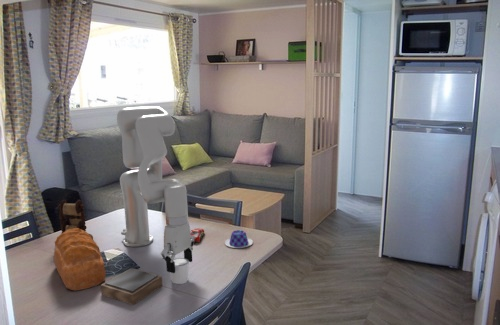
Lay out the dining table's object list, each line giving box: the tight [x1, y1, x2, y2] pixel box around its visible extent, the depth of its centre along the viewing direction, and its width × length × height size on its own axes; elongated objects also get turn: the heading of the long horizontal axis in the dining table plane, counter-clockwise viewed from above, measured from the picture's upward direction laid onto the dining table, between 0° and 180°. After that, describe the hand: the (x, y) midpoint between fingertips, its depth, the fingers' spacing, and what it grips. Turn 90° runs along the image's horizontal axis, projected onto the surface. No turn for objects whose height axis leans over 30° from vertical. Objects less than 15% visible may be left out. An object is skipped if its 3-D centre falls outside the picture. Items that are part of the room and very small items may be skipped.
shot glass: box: [170, 257, 190, 285], centre depth 150 cm, size 7×7×7 cm
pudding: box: [224, 229, 254, 249], centre depth 182 cm, size 12×12×5 cm
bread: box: [53, 228, 107, 291], centre depth 155 cm, size 14×26×16 cm, turn 33°
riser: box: [100, 267, 163, 306], centre depth 144 cm, size 14×14×4 cm
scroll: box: [57, 199, 94, 240], centre depth 181 cm, size 15×15×20 cm
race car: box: [190, 228, 205, 243], centre depth 189 cm, size 13×5×4 cm, turn 174°
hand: (179, 266), depth 149 cm, fingers open, 9 cm apart
